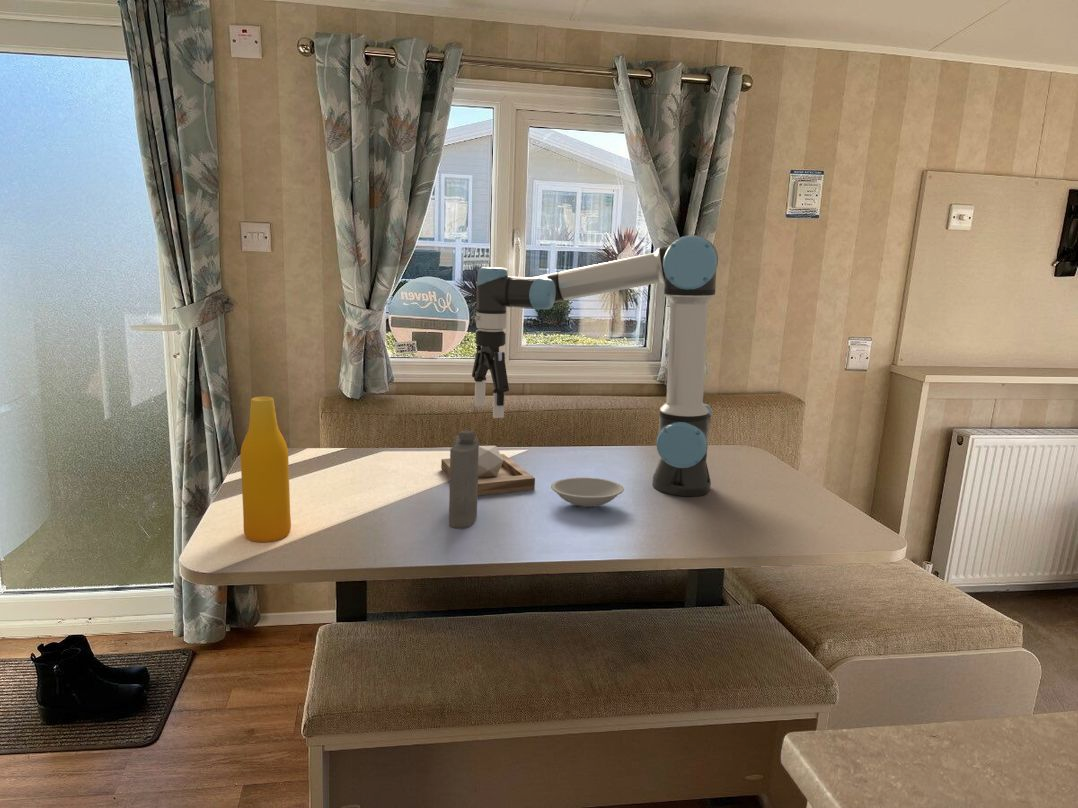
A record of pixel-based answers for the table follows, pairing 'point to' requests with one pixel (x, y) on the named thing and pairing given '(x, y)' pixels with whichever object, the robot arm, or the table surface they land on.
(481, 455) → the die
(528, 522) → the table surface
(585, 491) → the dish
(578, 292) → the robot arm
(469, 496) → the flask
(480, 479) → the tray
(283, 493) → the beer bottle
